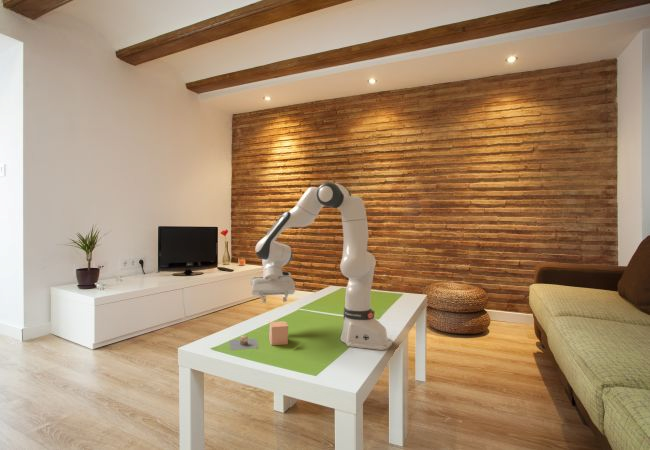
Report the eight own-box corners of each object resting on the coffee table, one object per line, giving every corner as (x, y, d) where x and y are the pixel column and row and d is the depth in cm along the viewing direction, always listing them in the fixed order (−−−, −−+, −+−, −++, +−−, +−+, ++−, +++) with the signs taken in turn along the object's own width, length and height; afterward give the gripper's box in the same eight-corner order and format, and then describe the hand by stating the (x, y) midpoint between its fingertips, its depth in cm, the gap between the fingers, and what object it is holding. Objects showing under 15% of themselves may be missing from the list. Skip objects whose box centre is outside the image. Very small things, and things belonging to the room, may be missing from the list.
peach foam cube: (284, 339, 153) (285, 321, 152) (287, 345, 146) (288, 326, 146) (269, 340, 151) (269, 322, 150) (271, 346, 144) (271, 327, 144)
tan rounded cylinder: (249, 343, 145) (249, 336, 145) (244, 345, 142) (244, 338, 142) (243, 342, 146) (243, 335, 146) (238, 344, 144) (238, 337, 144)
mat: (256, 339, 151) (256, 338, 151) (258, 349, 141) (258, 347, 141) (229, 341, 148) (229, 340, 148) (230, 351, 138) (230, 349, 138)
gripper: (251, 273, 165) (252, 299, 156) (293, 272, 171) (297, 297, 161) (250, 281, 169) (251, 306, 160) (291, 280, 175) (295, 304, 166)
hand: (274, 301), depth 161 cm, fingers open, 8 cm apart
